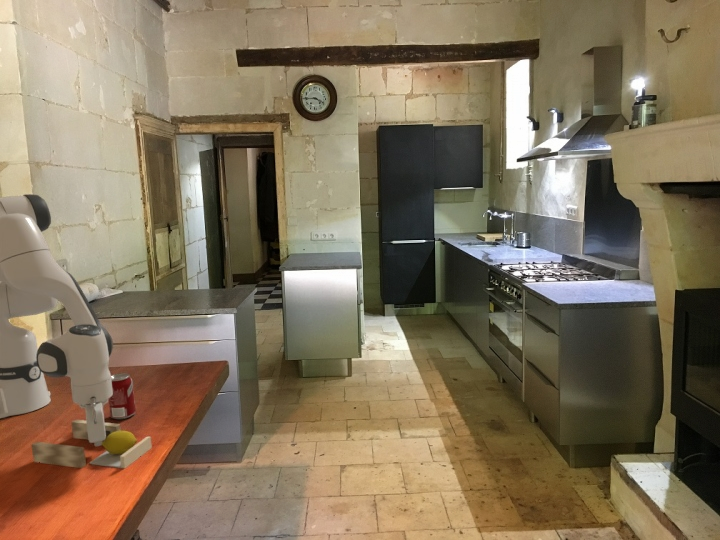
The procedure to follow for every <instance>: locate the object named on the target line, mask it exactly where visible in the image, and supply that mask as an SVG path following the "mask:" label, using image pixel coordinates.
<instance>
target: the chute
mask: <svg viewBox="0 0 720 540" xmlns="http://www.w3.org/2000/svg"><path fill="white" fill-rule="evenodd" d="M71 429H72V437H73V438H72V439H80V440H88V432H87V423H86V419H85V420H84V419H74V420H72V421H71ZM116 431H122V428H121V424H120V423H114V422H113V423H111V422H105V432H106V438H107V436H108V435H109V434H111V433H113V432H116ZM103 441H105V440H103ZM103 441H102V442H103ZM30 445H31V451H32V459H33V463H39V462H40V464H47V465H54V466H55V465H57V466H63V467H70V468H71V467H72V468H78V469H83V468H84V467H85V466H86V465H87V461H86V460H87V459H86V453H85V447H84V446H75V445H68V444H59V443H50V442H43V441H42V442H41V441H35V442H34V443H31V444H30Z"/></svg>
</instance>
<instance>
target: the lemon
mask: <svg viewBox="0 0 720 540" xmlns="http://www.w3.org/2000/svg"><path fill="white" fill-rule="evenodd" d="M137 443H138V439H137V438H136V437H135V435H134V434H133V433H132V432H130V431H127V430H121V431H116V432H113V433H111V434H109V435H108V436H107V438H106V439H105V441H103V442H102V445H101V446H103V447H104V449H105V450H106V451H108V452H109V453H111V454H123V453H125V452H126V451H128V450H129V449H131V448H132V447H133V446H134V445H136V444H137Z"/></svg>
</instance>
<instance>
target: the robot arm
mask: <svg viewBox="0 0 720 540" xmlns="http://www.w3.org/2000/svg"><path fill="white" fill-rule="evenodd" d="M51 213H52V212H51V209H50V206H49V205H48V204H47V202H46V200H45V199H44V198H43V197H41V196H40V195H38V194H29V193H28V194H23V195H11V196H1V197H0V419H5V418H7V417H10V416H17V415H23V414H27V413H31V412H33V411H36V410H39V409H41V408H43V407H45V406H47V405H48V404H50V403H51V391H49V390H48V386H47V382H46V379H45V376H48V377H49V378H53V379H55V378H63V377H69V378H70V388H71V397H72V402H73V403H74V404H76V405H79V408H80V409H82V410H85V421H86V423H87V432H88V439H87V440H88V442H89V443H90V444H92V443H93V444H94V447H100V446H102V441H103V440H105V439H106V432H105V423H106V422H105V415H104V406H105V405H106V404H107V403H109V399H108V398H110V397H111V396H112V395H113V390H112V380H111V376H112V373H111V371H110V369H109V362H110V357H111V354H112V353H113V349H114V341H113V338H112V336H111V335H110V333H109V331H108V330H107V329H106V327H105V326H104V325H103V323H101V322H100V319H99V318H98V316H97V314H96V312H95V311H94V309H93V308H92V305H91V304H90V302H89V300H88V298H87V296H86V295H85V293H84V291H83V289H82V288H81V286H80V284H79V283H78V281H77V280H76V279H75V277H74V276H73V275H72V274H71V273H70V272H68V271H66V270H64V269H63V268H62V266H60V265H59V264H58V262H57V261H56V259H55V258H54V256H53V255H52V252H51V249H50V247H49V245H48V242H47V241H46V238H45V235H44V234H43V232H44V231H46V230H48V229H49V227H50V226H51V224H52V214H51ZM58 302H60V304H62V306H63V307H64V309H65V310H66V312H67V314H68V316H69V317H70V319H71V321H72V323H73V326H72V327H70V328H68V329H67V330H66V331H65V333H63V334H61V335H59V336H57V337H53V338H50V339H48V340H46V341H43V342H42V343H41V344H40V345H39V347H38V342H37V341H38V340H37V337H36V334H35V333H34V332H33V331H31V330H30V329H28V328H23V327H19V326H15V325H14V324H12V323H11V322H10V319H15V318H21V317H28V316H35V315H40V314H43V313H48V312H50V311H53V309H55V308H56V306H57V305H58Z"/></svg>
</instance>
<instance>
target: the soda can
mask: <svg viewBox="0 0 720 540" xmlns="http://www.w3.org/2000/svg"><path fill="white" fill-rule="evenodd" d="M111 380H112V390H113V395H112V396H111V397H110V398H108V408H109V417H111V419H114V420H126V419H129V418H130V417H132V416H133V415H135V414H136V412H137V410H136V402H135V400H136V399H135V393H134V382H133V379H132V378H131V375H130V374H129V373H127V372H119V373H115V374H111Z"/></svg>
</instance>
